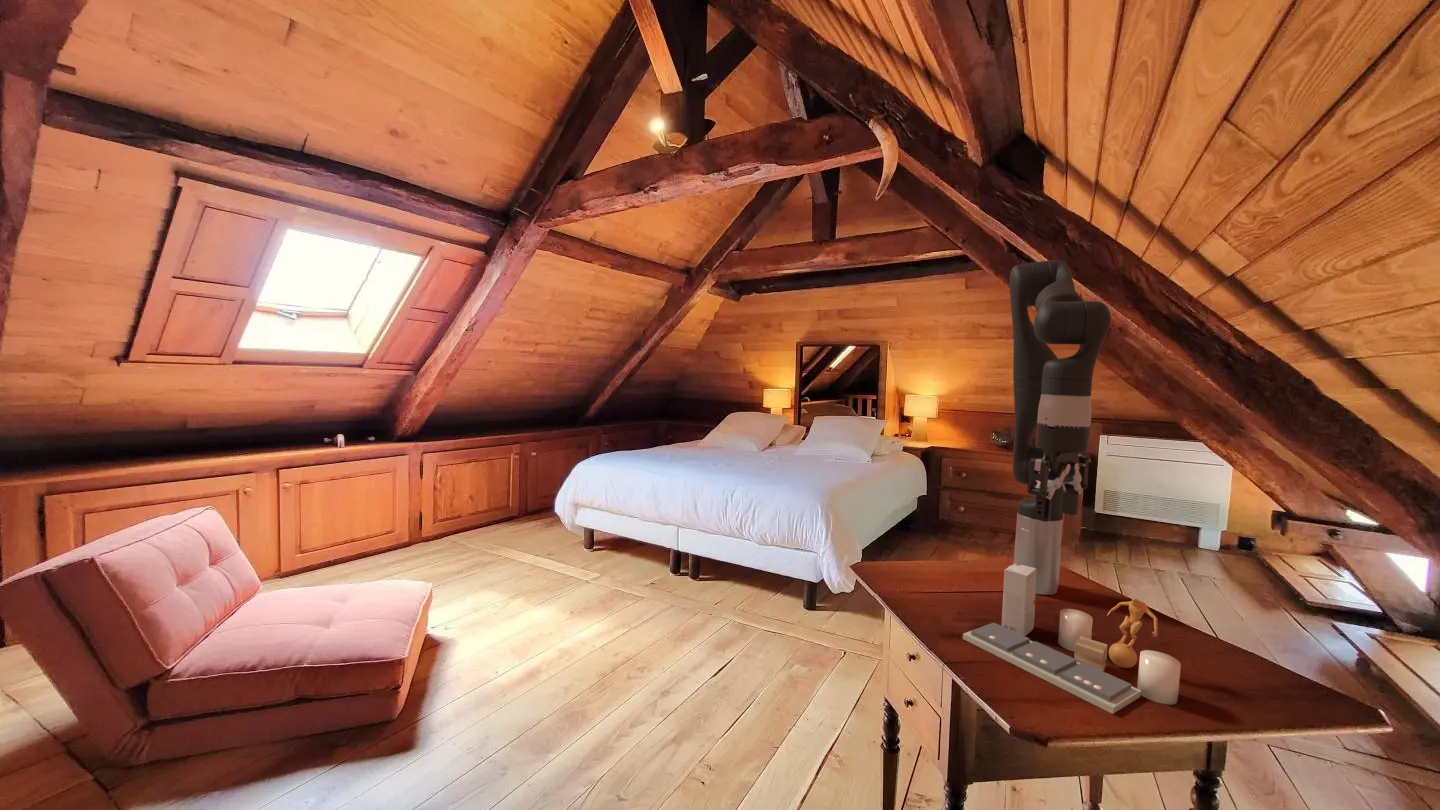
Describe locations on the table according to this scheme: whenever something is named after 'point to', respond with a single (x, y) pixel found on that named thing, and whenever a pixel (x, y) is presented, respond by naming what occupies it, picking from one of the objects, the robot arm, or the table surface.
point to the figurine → (1123, 652)
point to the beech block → (1091, 653)
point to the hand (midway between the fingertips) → (1056, 517)
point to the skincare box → (1019, 598)
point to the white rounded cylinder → (1073, 627)
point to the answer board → (1055, 667)
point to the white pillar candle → (1159, 677)
